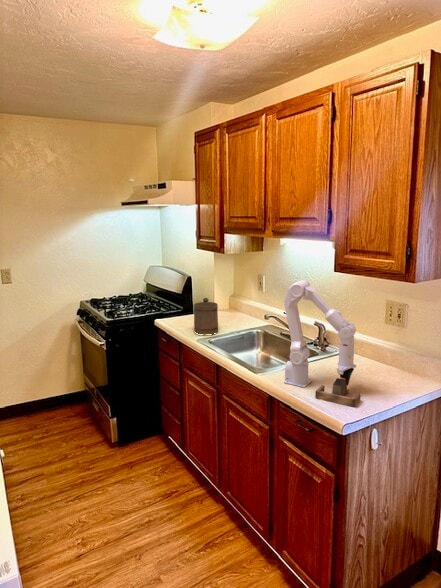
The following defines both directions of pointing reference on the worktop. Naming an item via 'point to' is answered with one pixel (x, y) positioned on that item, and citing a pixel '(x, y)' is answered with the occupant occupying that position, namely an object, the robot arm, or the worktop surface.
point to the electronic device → (340, 387)
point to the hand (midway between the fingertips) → (345, 385)
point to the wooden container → (206, 317)
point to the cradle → (336, 397)
